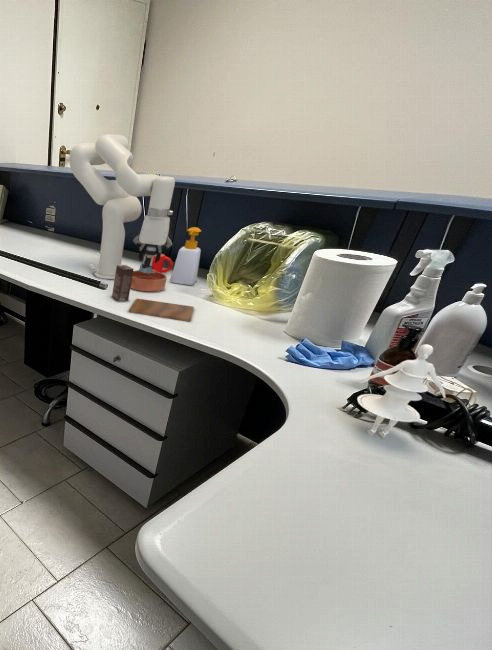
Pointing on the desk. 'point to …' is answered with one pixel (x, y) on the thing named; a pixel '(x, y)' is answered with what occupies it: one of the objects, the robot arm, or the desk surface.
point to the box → (122, 282)
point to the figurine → (401, 391)
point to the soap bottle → (187, 261)
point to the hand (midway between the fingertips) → (148, 261)
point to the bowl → (148, 281)
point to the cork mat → (162, 309)
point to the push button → (148, 260)
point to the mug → (161, 264)
